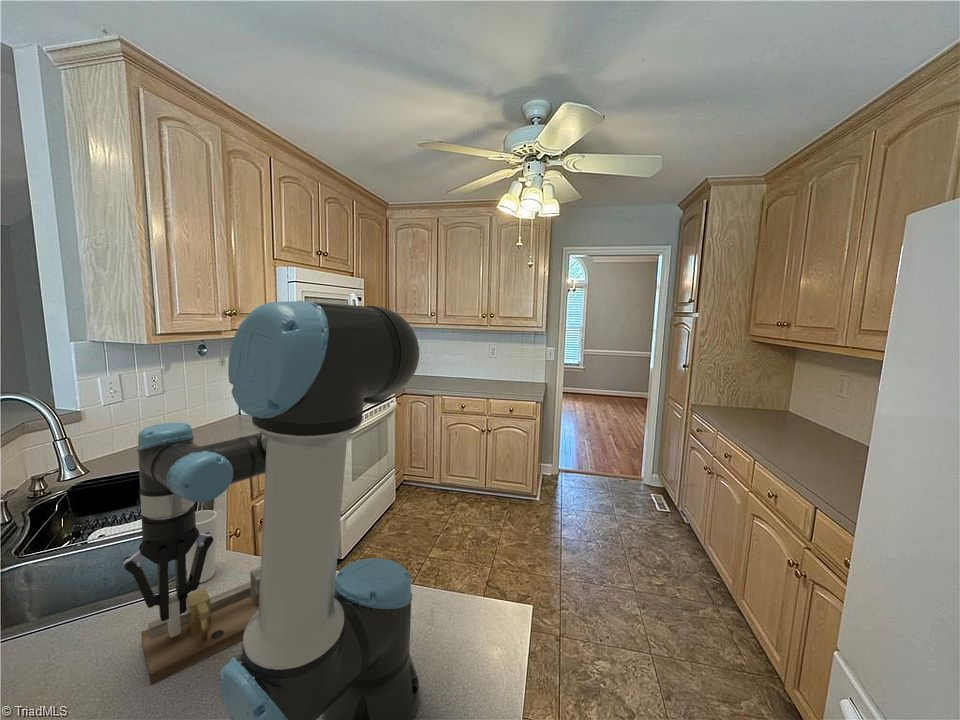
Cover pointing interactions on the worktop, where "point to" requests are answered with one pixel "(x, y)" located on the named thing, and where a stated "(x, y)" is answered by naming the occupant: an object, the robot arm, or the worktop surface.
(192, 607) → the sliding leg
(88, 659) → the worktop surface
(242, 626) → the hole board
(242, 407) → the robot arm
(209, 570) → the drinking glass
